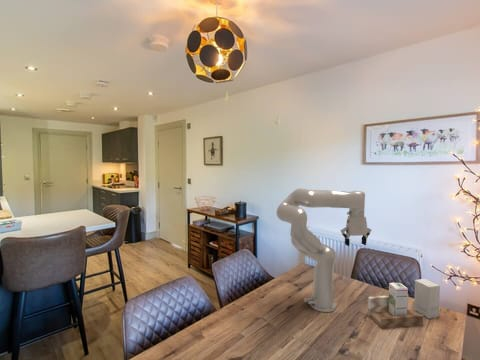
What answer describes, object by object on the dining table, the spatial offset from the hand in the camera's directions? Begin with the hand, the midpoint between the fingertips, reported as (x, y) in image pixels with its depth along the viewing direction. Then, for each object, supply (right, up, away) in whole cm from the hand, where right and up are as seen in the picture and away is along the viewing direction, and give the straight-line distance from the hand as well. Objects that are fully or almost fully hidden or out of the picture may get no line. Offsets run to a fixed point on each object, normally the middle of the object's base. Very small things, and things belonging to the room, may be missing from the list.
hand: (355, 244), depth 143 cm
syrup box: (+11, -28, -20) cm, 36 cm away
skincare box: (+28, -30, -15) cm, 43 cm away
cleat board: (+9, -30, -21) cm, 38 cm away
